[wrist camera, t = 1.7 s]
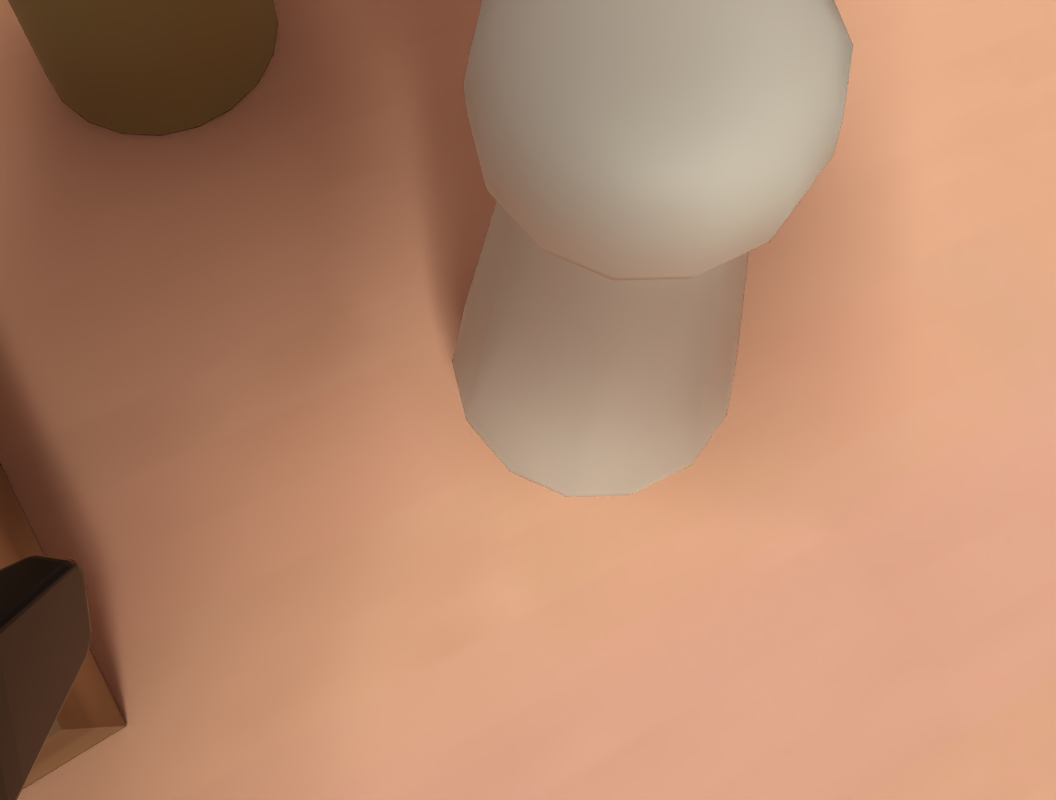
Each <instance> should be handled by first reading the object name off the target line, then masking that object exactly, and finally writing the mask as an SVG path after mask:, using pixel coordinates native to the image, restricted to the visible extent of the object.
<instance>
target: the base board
mask: <svg viewBox="0 0 1056 800" xmlns="http://www.w3.org/2000/svg"><path fill="white" fill-rule="evenodd" d="M31 555H44V553H43V551H42V549H41V547H40V545H39V543H38V541H37V539H36V537H35V535H34V533H33V531H32V528H31V526H30V524H29V522H28V520H27V518H26V516H25V514H24V512H23V510H22V508H21V506H20V504H19V502H18V499H17V497H16V495H15V493H14V491H13V489H12V487H11V485H10V483H9V481H8V479H7V477H6V475H5V473H4V470H3V468H2V466H1V464H0V569H2V568H4V567H6V566H8V565H10V564H12V563H14V562H17V561H19V560H21V559H23V558H25V557H28V556H31ZM125 726H127V725H126V723H125V721H124V719H123V717H122V715H121V713H120V711H119V709H118V707H117V705H116V703H115V701H114V698H113V696H112V694H111V692H110V690H109V688H108V686H107V684H106V682H105V680H104V678H103V676H102V674H101V672H100V669H99V667H98V665H97V663H96V661H95V659H94V657H93V655H92V653H91V651H90V649H89V650H88V653H87V656H86V658H85V661H84V663H83V665H82V667H81V669H80V671H79V673H78V675H77V677H76V679H75V681H74V683H73V685H72V688H71V690H70V692H69V694H68V696H67V698H66V700H65V702H64V704H63V706H62V708H61V710H60V712H59V714H58V716H57V719H56V721H55V723H54V725H53V727H52V729H51V731H50V733H49V735H48V737H47V739H46V741H45V743H44V745H43V748H42V750H41V752H40V754H39V756H38V758H37V760H36V762H35V764H34V766H33V768H32V770H31V772H30V774H29V776H28V779H27V781H26V783H25V785H24V787H23V789H24V788H26V787H27V786H29V785H31V784H32V783H34V782H35V781H37V780H39V779H40V778H42V777H44V776H45V775H47V774H49V773H50V772H52V771H53V770H55V769H57V768H58V767H60V766H62V765H63V764H65V763H66V762H68V761H70V760H71V759H73V758H75V757H76V756H78V755H80V754H81V753H83V752H84V751H86V750H88V749H89V748H91V747H93V746H94V745H96V744H97V743H99V742H101V741H102V740H104V739H106V738H107V737H109V736H111V735H112V734H114V733H115V732H117V731H119V730H120V729H122V728H124V727H125Z"/></svg>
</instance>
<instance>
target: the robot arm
mask: <svg viewBox="0 0 1056 800" xmlns="http://www.w3.org/2000/svg"><path fill="white" fill-rule="evenodd" d="M91 633H92V632H91V621H90V613H89V605H88V597H87V589H86V581H85V575H84V571H83V568H82V567H81V565H80V564H79V563H78V562H76V561H74V560H71V559H65V558H58V557H52V556H46V555H31V556H28V557H25V558H23V559H21V560H19V561H17V562H14V563H12V564H10V565H8V566H6V567H4V568H2V569H0V800H17V798H18V796H19V794H20V793H21V791H22V789H23V787H24V785H25V783H26V781H27V779H28V776H29V774H30V772H31V770H32V768H33V766H34V764H35V762H36V760H37V758H38V756H39V754H40V752H41V750H42V748H43V745H44V743H45V741H46V739H47V737H48V735H49V733H50V731H51V729H52V727H53V725H54V723H55V721H56V719H57V716H58V714H59V712H60V710H61V708H62V706H63V704H64V702H65V700H66V698H67V696H68V694H69V692H70V690H71V688H72V685H73V683H74V681H75V679H76V677H77V675H78V673H79V671H80V669H81V667H82V665H83V663H84V661H85V658H86V656H87V653H88V650H89V647H90V642H91Z"/></svg>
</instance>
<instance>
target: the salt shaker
mask: <svg viewBox="0 0 1056 800" xmlns="http://www.w3.org/2000/svg"><path fill="white" fill-rule="evenodd" d="M852 49H853V44H852V41H851V39H850V36H849V34H848V32H847V29H846V27H845V25H844V22H843V20H842V18H841V15H840V13H839V11H838V8H837V6H836V4H835V1H834V0H482V4H481V8H480V12H479V16H478V20H477V24H476V28H475V32H474V36H473V40H472V44H471V48H470V53H469V58H468V63H467V68H466V73H465V78H464V83H463V91H464V97H465V103H466V109H467V115H468V120H469V124H470V128H471V132H472V136H473V140H474V144H475V148H476V152H477V156H478V160H479V164H480V167H481V171H482V175H483V179H484V183H485V187H486V189H487V190H488V191H489V193H490V194H491V195H492V196H493V197H494V199H495V200H496V201H497V202H496V205H495V208H494V211H493V215H492V218H491V221H490V224H489V228H488V231H487V234H486V237H485V241H484V244H483V247H482V250H481V254H480V257H479V260H478V263H477V267H476V270H475V273H474V277H473V280H472V283H471V286H470V290H469V293H468V296H467V299H466V303H465V307H464V311H463V315H462V320H461V324H460V328H459V332H458V337H457V341H456V345H455V349H454V354H453V358H452V363H453V367H454V371H455V375H456V380H457V384H458V388H459V392H460V396H461V400H462V405H463V409H464V413H465V417H466V420H467V421H468V423H469V424H470V425H471V427H472V428H473V429H474V430H475V431H476V432H477V434H478V435H479V436H480V437H481V438H482V439H483V441H484V442H485V443H486V444H487V445H488V447H489V448H490V449H491V450H492V451H493V452H494V454H495V455H496V456H497V457H498V458H499V459H500V461H501V462H502V463H503V464H504V465H505V467H506V468H507V469H508V470H509V471H510V472H512V473H514V474H517V475H519V476H521V477H523V478H525V479H528V480H530V481H532V482H534V483H537V484H539V485H541V486H543V487H545V488H548V489H550V490H552V491H554V492H557V493H559V494H561V495H563V496H566V497H589V496H625V495H631V494H633V493H636V492H638V491H640V490H642V489H644V488H646V487H648V486H650V485H652V484H654V483H656V482H658V481H660V480H662V479H664V478H666V477H668V476H670V475H672V474H674V473H676V472H678V471H680V470H682V469H684V468H686V467H688V466H690V465H692V464H693V462H694V461H695V459H696V458H697V457H698V455H699V454H700V452H701V451H702V449H703V448H704V447H705V445H706V444H707V442H708V441H709V439H710V438H711V437H712V435H713V434H714V432H715V431H716V429H717V428H718V427H719V425H720V424H721V422H722V421H723V419H724V418H725V417H726V415H727V411H728V405H729V399H730V394H731V388H732V382H733V376H734V370H735V364H736V359H737V352H738V343H739V334H740V325H741V316H742V307H743V298H744V289H745V280H746V271H747V262H748V253H749V251H751V250H753V249H755V248H757V247H759V246H761V245H764V244H766V243H768V242H770V241H771V240H772V238H773V237H774V235H775V234H776V233H777V231H778V230H779V229H780V227H781V226H782V225H783V223H784V222H785V221H786V219H787V218H788V216H789V215H790V214H791V212H792V211H793V210H794V208H795V207H796V206H797V204H798V203H799V201H800V200H801V199H802V197H803V196H804V195H805V193H806V192H807V191H808V189H809V188H810V187H811V185H812V184H813V182H814V181H815V180H816V178H817V177H818V176H819V174H820V173H821V171H822V170H823V169H824V167H825V166H826V165H827V163H828V162H829V160H830V159H831V158H832V156H833V155H834V152H835V148H836V144H837V140H838V136H839V132H840V128H841V124H842V120H843V114H844V107H845V100H846V92H847V85H848V78H849V71H850V63H851V56H852Z"/></svg>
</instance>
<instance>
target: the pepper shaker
mask: <svg viewBox="0 0 1056 800" xmlns="http://www.w3.org/2000/svg"><path fill="white" fill-rule="evenodd" d="M8 1H9V3H10V5H11V7H12V9H13V11H14V13H15V14H16V16H17V18H18V20H19V22H20V24H21V26H22V28H23V30H24V32H25V34H26V36H27V38H28V40H29V42H30V44H31V46H32V48H33V50H34V52H35V54H36V56H37V58H38V60H39V61H40V63H41V65H42V67H43V69H44V71H45V73H46V75H47V77H48V78H49V80H50V82H51V83H52V85H53V87H54V88H55V90H56V92H57V93H58V95H59V97H60V98H61V100H62V101H63V102H64V103H65V104H66V105H68V106H69V107H70V108H72V109H73V110H74V111H75V112H77V113H78V114H79V115H81V116H82V117H83V118H84V119H86V120H87V121H88V122H90V123H93V124H96V125H99V126H102V127H105V128H108V129H111V130H114V131H117V132H119V133H122V134H142V135H164V134H169V133H173V132H177V131H182V130H186V129H190V128H195V127H199V126H201V125H202V124H204V123H206V122H208V121H210V120H212V119H214V118H215V117H217V116H219V115H221V114H223V113H225V112H227V111H229V110H230V109H232V108H233V107H234V106H235V105H236V104H237V103H238V102H239V101H240V100H241V99H242V98H243V97H244V96H245V95H246V94H247V93H249V92H250V91H251V90H252V89H253V88H254V87H255V86H256V85H257V84H258V82H259V80H260V78H261V76H262V75H263V73H264V71H265V69H266V67H267V65H268V63H269V61H270V59H271V58H272V56H273V53H274V46H275V39H276V32H277V25H278V22H277V18H276V14H275V10H274V5H273V1H272V0H8Z"/></svg>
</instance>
